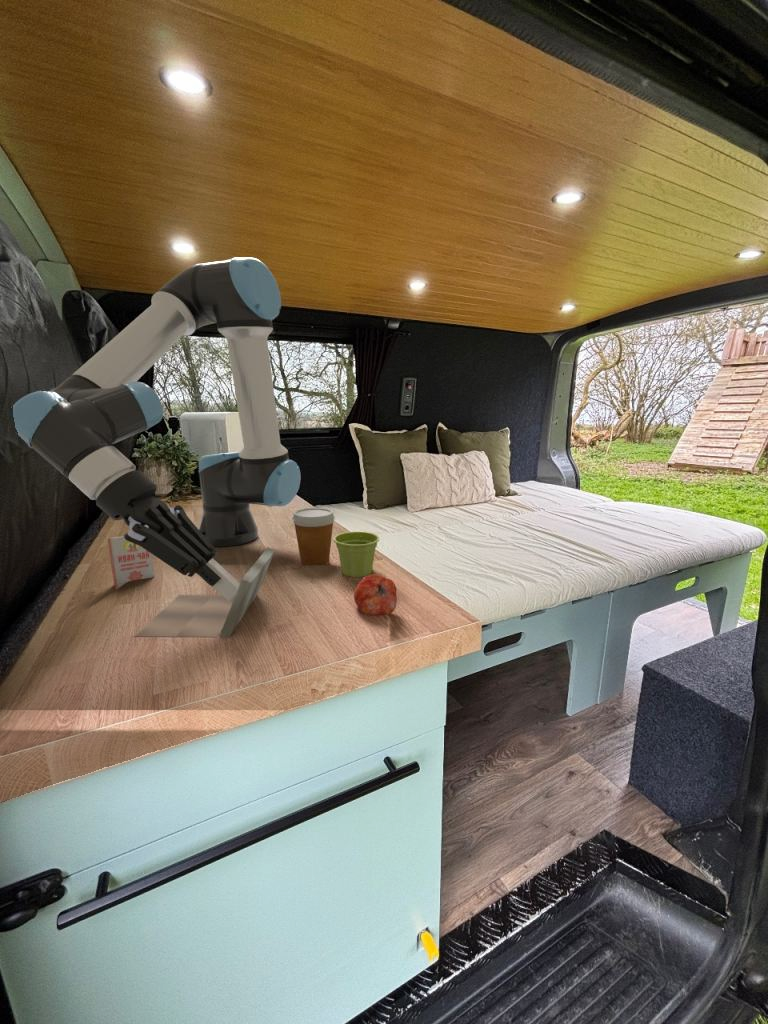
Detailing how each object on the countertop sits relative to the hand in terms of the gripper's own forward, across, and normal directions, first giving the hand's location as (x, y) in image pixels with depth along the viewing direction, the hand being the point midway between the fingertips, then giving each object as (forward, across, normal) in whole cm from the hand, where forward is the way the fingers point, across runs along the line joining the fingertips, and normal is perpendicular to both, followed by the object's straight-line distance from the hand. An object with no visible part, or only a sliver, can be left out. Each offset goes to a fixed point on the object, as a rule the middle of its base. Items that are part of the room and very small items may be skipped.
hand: (235, 593), depth 64 cm
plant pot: (+17, -21, +9) cm, 28 cm away
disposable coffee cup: (+10, -29, +1) cm, 31 cm away
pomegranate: (+20, -5, +12) cm, 23 cm away
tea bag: (-14, -17, -23) cm, 32 cm away
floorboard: (-1, -2, -10) cm, 10 cm away
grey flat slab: (+2, -2, +1) cm, 3 cm away
